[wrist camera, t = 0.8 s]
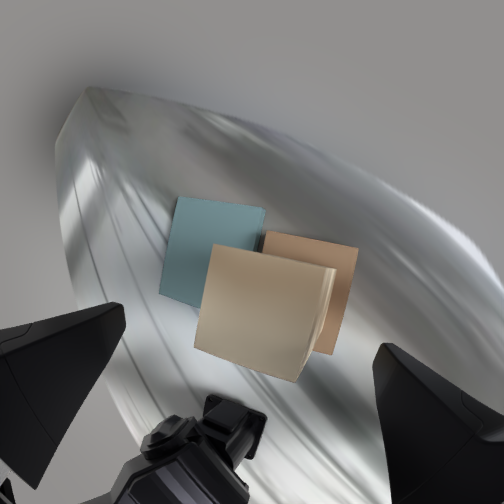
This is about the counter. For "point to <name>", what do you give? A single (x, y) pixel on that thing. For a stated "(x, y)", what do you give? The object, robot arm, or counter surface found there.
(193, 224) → the teal mat
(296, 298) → the maple block
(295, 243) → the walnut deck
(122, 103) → the counter surface
